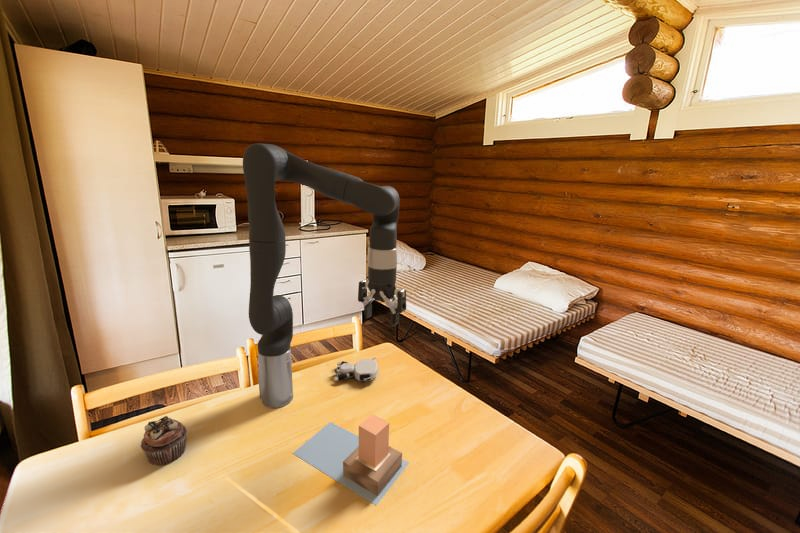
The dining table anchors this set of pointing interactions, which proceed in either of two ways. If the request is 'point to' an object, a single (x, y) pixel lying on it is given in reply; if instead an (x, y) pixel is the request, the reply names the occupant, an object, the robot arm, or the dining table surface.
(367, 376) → the robot toy
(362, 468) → the walnut foundation
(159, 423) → the cupcake
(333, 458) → the board
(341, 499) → the dining table surface
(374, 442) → the terracotta block
